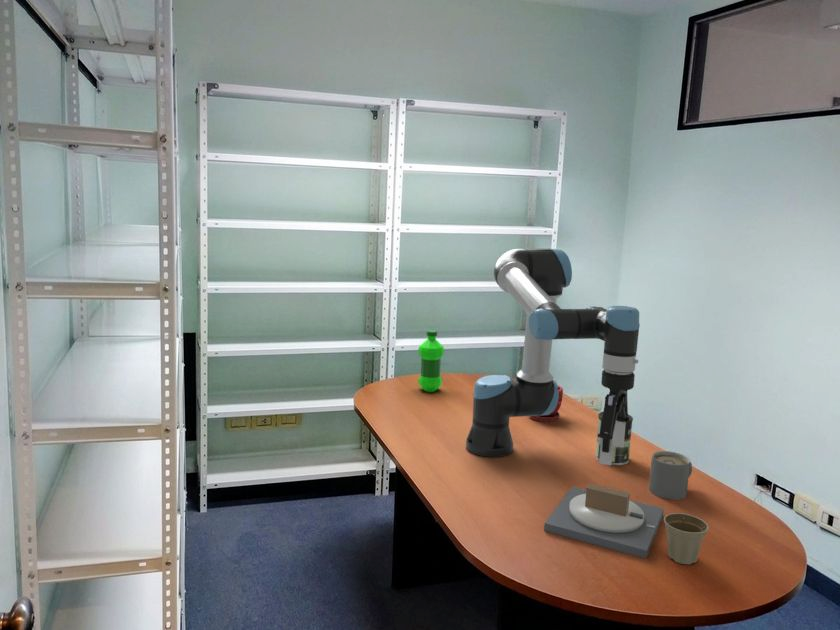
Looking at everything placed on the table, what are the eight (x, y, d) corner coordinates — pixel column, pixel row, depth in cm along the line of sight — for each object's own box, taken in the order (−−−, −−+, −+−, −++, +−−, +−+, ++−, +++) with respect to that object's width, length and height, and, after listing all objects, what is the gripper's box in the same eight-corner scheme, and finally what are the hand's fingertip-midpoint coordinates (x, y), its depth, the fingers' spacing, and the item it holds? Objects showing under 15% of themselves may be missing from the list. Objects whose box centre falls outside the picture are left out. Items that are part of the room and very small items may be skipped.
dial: (560, 520, 160) (562, 495, 159) (579, 492, 176) (581, 469, 175) (636, 540, 152) (638, 514, 151) (649, 509, 167) (652, 485, 166)
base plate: (543, 530, 160) (544, 521, 159) (571, 493, 180) (572, 485, 180) (646, 558, 148) (647, 549, 148) (663, 515, 169) (663, 507, 169)
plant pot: (568, 419, 241) (570, 388, 238) (542, 425, 233) (544, 393, 231) (543, 409, 251) (545, 379, 249) (517, 415, 244) (519, 384, 242)
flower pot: (653, 547, 154) (656, 512, 152) (691, 546, 154) (695, 512, 153) (671, 569, 144) (675, 533, 143) (712, 568, 145) (716, 532, 144)
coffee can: (627, 454, 209) (631, 412, 207) (630, 467, 199) (634, 423, 197) (593, 451, 211) (597, 409, 209) (595, 463, 201) (599, 419, 199)
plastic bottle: (434, 395, 265) (436, 334, 261) (412, 390, 271) (414, 331, 266) (447, 389, 273) (449, 331, 269) (425, 385, 279) (427, 327, 275)
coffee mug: (663, 501, 177) (667, 466, 175) (641, 485, 186) (644, 452, 185) (704, 496, 181) (708, 462, 179) (680, 481, 190) (684, 448, 189)
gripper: (623, 385, 145) (616, 475, 148) (644, 362, 166) (637, 442, 170) (589, 379, 148) (583, 468, 152) (614, 358, 170) (608, 436, 173)
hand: (611, 454), depth 161 cm, fingers open, 13 cm apart
